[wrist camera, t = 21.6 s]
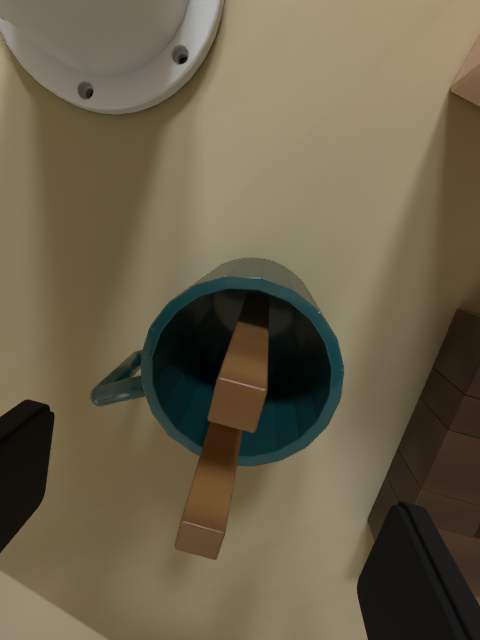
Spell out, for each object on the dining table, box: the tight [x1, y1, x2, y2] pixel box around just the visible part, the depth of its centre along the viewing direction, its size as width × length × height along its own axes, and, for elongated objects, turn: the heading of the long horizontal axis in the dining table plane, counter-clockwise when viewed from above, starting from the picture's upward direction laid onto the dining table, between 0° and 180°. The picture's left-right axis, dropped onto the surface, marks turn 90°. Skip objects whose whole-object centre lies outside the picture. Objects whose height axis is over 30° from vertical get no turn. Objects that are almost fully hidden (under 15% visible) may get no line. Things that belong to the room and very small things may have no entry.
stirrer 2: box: [175, 422, 243, 560], centre depth 17 cm, size 1×1×13 cm
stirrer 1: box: [207, 293, 269, 433], centre depth 16 cm, size 1×1×13 cm
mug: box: [90, 258, 344, 466], centre depth 19 cm, size 12×8×9 cm
